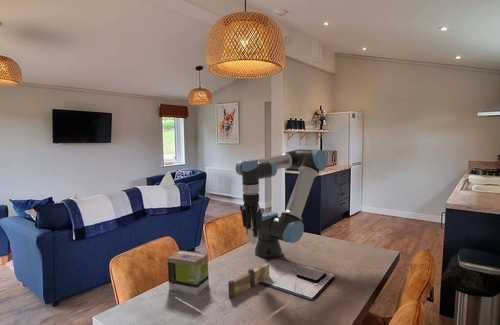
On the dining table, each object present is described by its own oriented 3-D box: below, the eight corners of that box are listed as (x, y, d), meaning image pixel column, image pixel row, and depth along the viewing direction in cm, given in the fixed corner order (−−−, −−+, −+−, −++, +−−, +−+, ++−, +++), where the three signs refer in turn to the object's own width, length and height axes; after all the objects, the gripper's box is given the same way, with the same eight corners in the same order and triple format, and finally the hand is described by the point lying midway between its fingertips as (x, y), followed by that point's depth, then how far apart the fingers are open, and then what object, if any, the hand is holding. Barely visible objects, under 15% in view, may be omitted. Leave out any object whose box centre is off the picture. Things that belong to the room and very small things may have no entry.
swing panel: (251, 287, 134) (251, 271, 133) (247, 285, 135) (247, 270, 135) (269, 276, 143) (269, 262, 142) (265, 275, 144) (265, 261, 144)
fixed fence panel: (227, 298, 126) (227, 282, 126) (247, 287, 135) (246, 272, 134) (231, 300, 125) (231, 283, 124) (251, 289, 133) (250, 273, 133)
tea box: (209, 285, 138) (208, 253, 136) (196, 296, 129) (195, 262, 127) (182, 280, 144) (180, 249, 143) (168, 290, 135) (166, 257, 134)
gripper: (233, 192, 144) (235, 241, 146) (257, 196, 134) (259, 248, 136) (244, 190, 149) (246, 237, 151) (268, 193, 139) (269, 244, 141)
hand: (252, 242), depth 144 cm, fingers open, 2 cm apart
